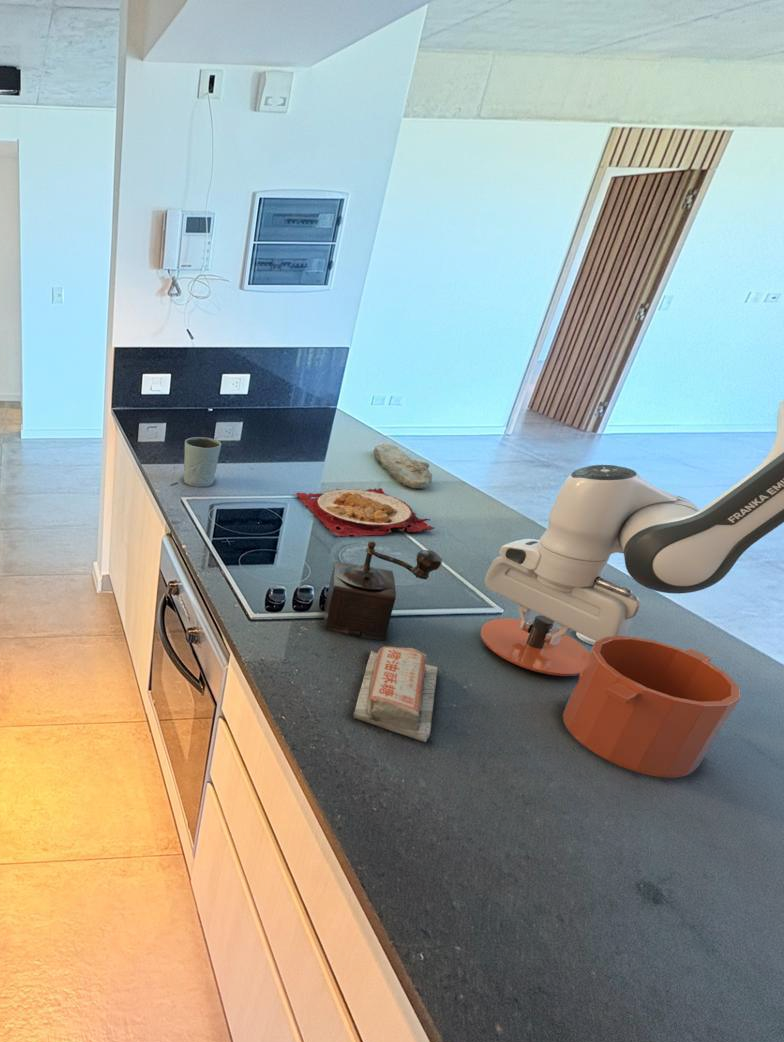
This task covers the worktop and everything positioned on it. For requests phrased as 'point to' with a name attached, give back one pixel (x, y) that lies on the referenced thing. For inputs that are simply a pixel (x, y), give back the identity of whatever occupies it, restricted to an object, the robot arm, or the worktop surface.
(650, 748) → the pot
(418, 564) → the brown manual coffee grinder
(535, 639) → the lid
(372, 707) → the packaged product
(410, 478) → the long grey stone
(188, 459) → the green ceramic cup
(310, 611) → the worktop surface
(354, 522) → the plate with food
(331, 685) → the worktop surface
